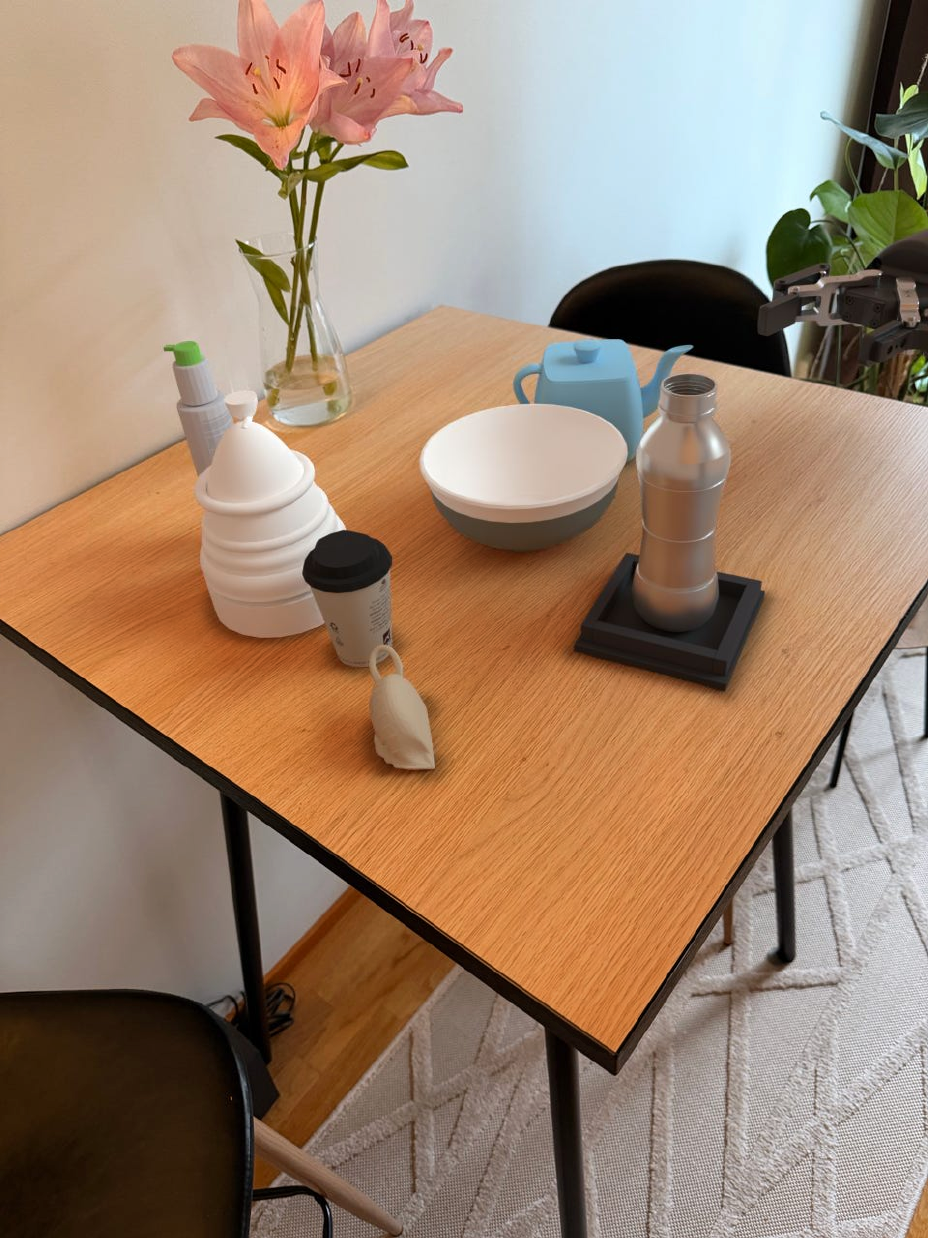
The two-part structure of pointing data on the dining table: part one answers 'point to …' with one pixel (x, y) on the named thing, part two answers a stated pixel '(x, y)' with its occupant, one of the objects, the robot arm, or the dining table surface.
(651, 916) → the dining table surface
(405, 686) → the decorative ornament
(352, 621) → the coffee cup
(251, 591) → the honey pot
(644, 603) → the silver metal bottle
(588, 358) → the teapot
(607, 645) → the pad
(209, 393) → the bottle
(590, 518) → the bowl
